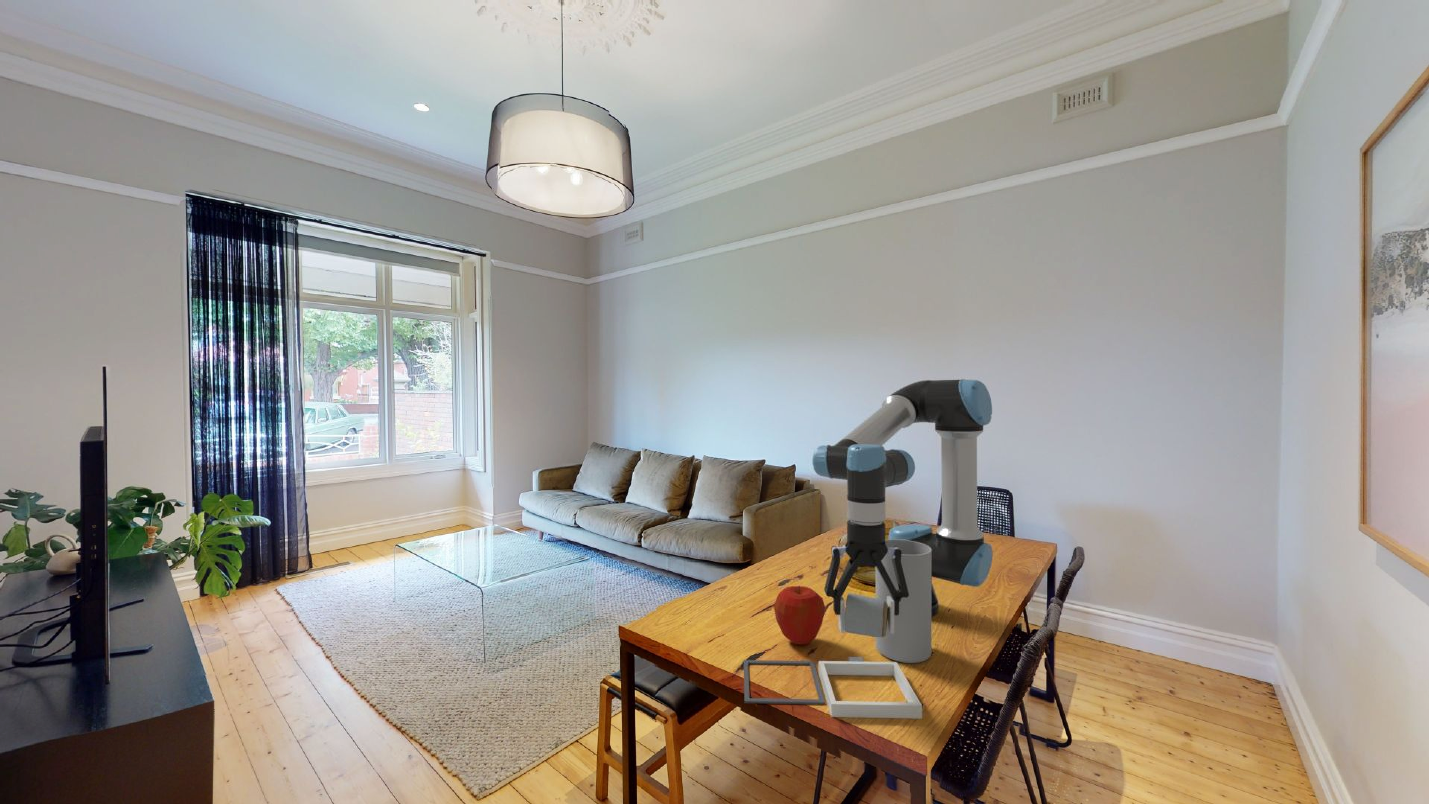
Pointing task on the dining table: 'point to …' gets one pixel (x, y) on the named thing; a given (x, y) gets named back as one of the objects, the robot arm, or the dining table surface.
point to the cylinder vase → (908, 604)
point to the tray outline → (782, 701)
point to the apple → (799, 613)
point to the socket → (869, 708)
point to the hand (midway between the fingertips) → (865, 630)
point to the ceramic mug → (865, 616)
